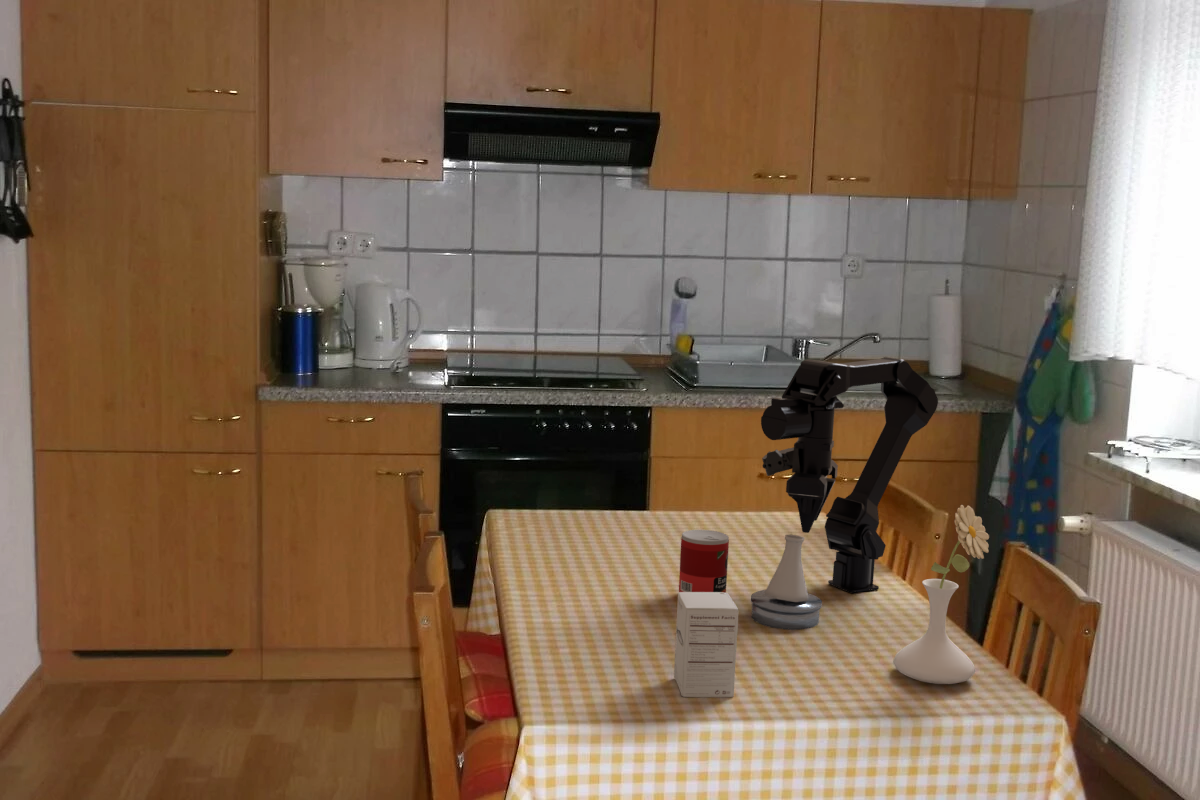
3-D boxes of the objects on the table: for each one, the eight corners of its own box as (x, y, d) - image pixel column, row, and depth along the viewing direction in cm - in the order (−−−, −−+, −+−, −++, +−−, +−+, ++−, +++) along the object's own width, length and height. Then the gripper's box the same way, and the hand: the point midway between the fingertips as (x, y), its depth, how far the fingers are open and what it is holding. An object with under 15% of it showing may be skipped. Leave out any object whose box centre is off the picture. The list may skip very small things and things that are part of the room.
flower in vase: (929, 696, 178) (943, 519, 175) (875, 668, 188) (888, 500, 185) (1000, 683, 184) (1015, 511, 181) (944, 657, 194) (958, 494, 191)
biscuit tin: (792, 606, 218) (794, 586, 217) (835, 626, 208) (836, 605, 207) (735, 613, 212) (736, 593, 212) (776, 635, 202) (777, 613, 202)
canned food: (723, 607, 215) (726, 542, 213) (675, 602, 216) (678, 538, 214) (728, 594, 222) (731, 531, 220) (681, 589, 223) (684, 527, 222)
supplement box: (672, 678, 182) (676, 590, 180) (725, 678, 182) (729, 591, 180) (680, 698, 174) (684, 607, 172) (734, 698, 175) (739, 607, 173)
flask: (815, 598, 211) (824, 538, 210) (798, 606, 204) (807, 544, 203) (774, 588, 214) (782, 529, 213) (756, 595, 208) (765, 534, 207)
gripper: (776, 423, 229) (771, 509, 231) (757, 440, 211) (752, 533, 213) (840, 428, 225) (834, 516, 228) (826, 446, 208) (820, 541, 210)
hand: (809, 526), depth 220 cm, fingers open, 9 cm apart
